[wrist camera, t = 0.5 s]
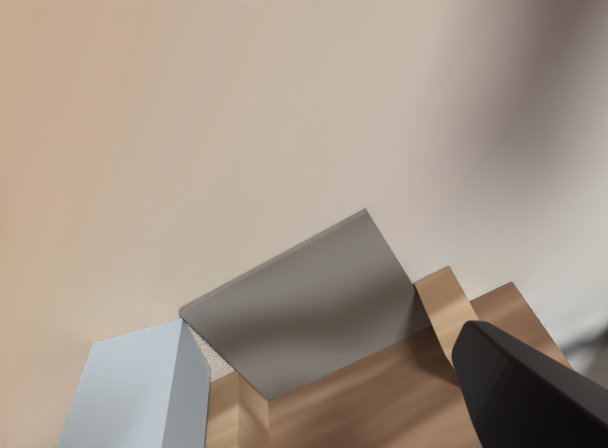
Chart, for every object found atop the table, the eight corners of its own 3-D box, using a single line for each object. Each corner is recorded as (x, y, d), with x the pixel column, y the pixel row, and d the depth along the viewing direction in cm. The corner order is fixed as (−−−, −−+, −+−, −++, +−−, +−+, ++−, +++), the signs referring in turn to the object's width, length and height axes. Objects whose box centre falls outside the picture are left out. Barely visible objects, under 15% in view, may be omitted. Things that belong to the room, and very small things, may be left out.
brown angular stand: (110, 346, 27) (24, 614, 17) (455, 159, 22) (623, 366, 12) (251, 463, 33) (252, 704, 23) (537, 336, 29) (688, 563, 19)
